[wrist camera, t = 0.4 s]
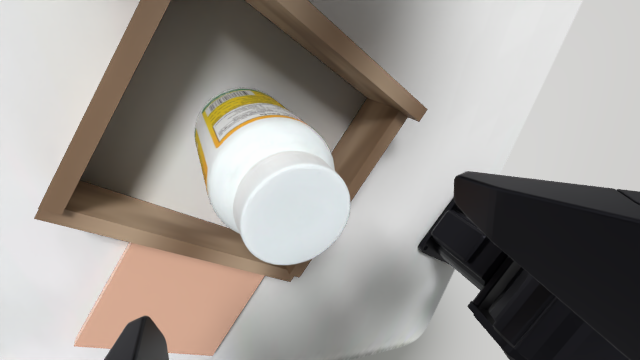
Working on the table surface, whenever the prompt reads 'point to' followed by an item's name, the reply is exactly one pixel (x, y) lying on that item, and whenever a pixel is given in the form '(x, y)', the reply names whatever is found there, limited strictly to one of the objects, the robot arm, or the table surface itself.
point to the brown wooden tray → (192, 233)
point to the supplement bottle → (270, 177)
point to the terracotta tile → (169, 300)
